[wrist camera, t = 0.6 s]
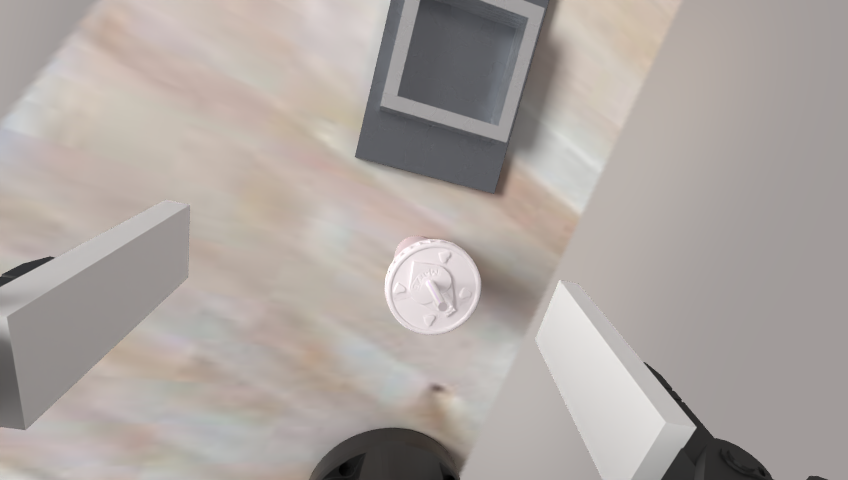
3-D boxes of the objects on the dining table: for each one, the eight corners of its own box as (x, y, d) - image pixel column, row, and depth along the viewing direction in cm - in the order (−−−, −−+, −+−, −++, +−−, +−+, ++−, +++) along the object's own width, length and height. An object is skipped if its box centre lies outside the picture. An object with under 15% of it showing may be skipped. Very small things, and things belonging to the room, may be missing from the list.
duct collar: (490, 192, 35) (503, 196, 32) (355, 157, 33) (354, 156, 30) (551, -23, 33) (573, -45, 29) (409, -78, 31) (415, -108, 27)
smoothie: (424, 205, 35) (464, 233, 21) (465, 263, 36) (526, 323, 23) (364, 249, 35) (365, 305, 21) (407, 305, 36) (433, 390, 23)
